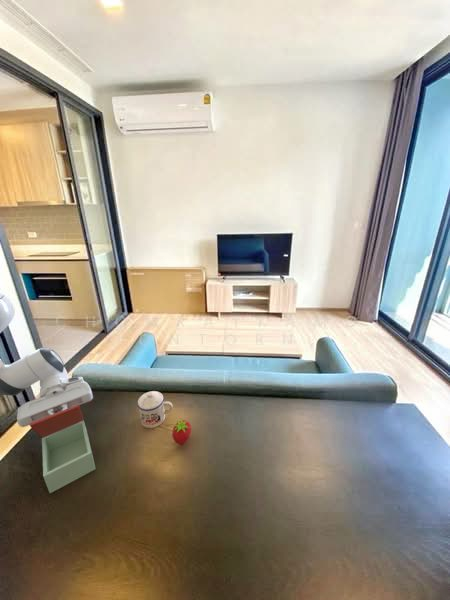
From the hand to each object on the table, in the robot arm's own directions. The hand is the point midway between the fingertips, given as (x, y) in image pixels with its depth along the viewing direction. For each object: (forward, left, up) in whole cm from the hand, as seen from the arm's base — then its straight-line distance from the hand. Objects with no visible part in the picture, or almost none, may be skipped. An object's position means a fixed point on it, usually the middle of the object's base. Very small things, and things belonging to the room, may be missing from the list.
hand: (59, 418), depth 75 cm
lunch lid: (0, -1, -1) cm, 1 cm away
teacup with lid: (+28, -4, -14) cm, 32 cm away
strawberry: (+31, -19, -14) cm, 39 cm away
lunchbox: (0, -4, -14) cm, 14 cm away
